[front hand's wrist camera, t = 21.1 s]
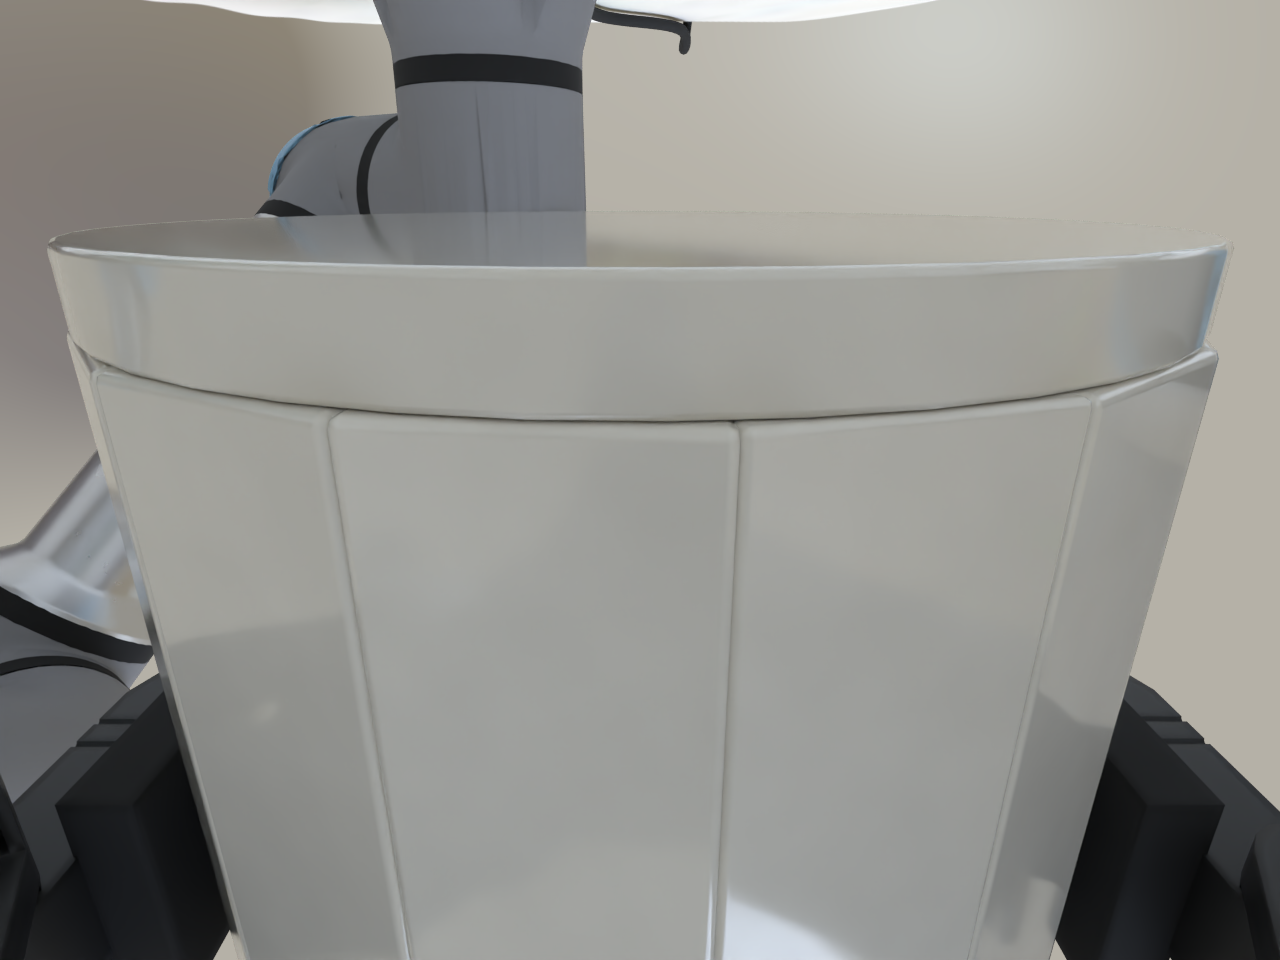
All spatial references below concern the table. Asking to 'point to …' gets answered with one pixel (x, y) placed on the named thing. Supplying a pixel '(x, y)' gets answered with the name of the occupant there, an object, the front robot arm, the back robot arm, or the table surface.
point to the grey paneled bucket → (643, 564)
